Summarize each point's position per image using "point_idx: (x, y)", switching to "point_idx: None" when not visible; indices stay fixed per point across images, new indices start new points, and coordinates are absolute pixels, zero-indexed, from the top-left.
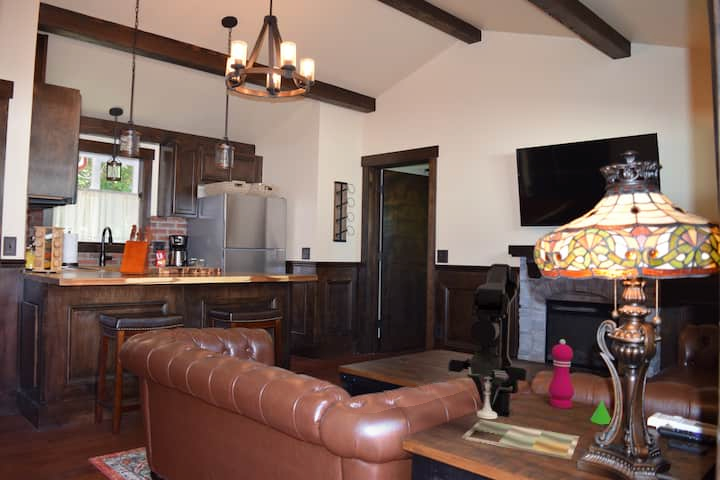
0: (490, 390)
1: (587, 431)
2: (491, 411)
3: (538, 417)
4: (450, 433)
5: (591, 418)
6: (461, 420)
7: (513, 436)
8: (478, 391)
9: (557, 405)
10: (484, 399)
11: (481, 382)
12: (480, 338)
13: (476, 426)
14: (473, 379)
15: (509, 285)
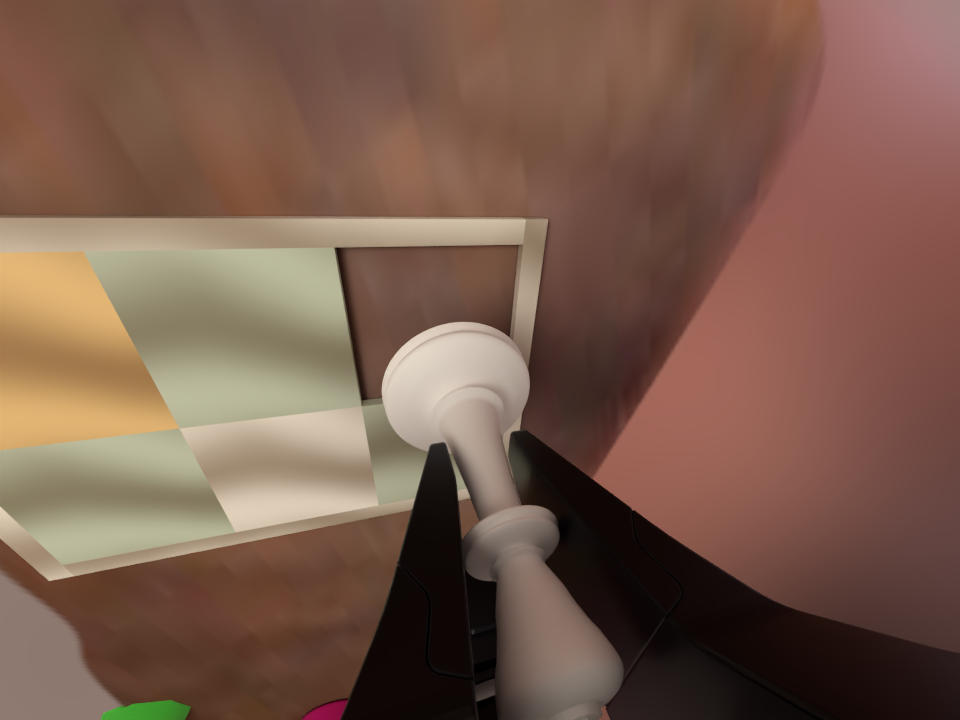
0: None
1: (106, 642)
2: (429, 413)
3: (345, 625)
4: (603, 274)
5: (180, 714)
6: (575, 452)
7: (310, 396)
8: (613, 500)
9: (334, 709)
10: (516, 481)
11: (659, 649)
12: None
13: None
14: (851, 636)
15: None
